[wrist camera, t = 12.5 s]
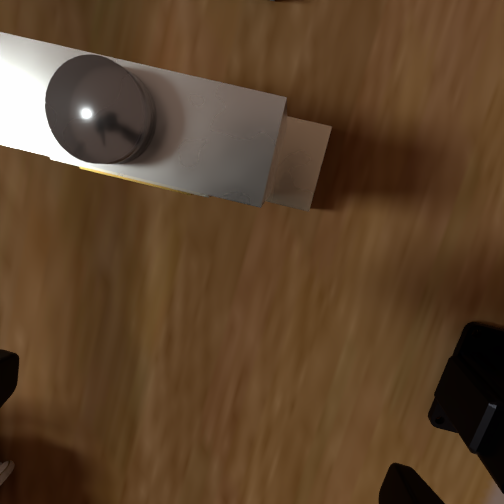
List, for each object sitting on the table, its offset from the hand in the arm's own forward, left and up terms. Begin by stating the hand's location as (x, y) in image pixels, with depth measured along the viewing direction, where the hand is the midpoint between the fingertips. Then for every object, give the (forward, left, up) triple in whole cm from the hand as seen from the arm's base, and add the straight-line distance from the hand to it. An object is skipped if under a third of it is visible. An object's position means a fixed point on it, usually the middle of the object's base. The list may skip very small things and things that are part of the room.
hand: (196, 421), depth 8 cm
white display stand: (+5, -6, -12) cm, 14 cm away
